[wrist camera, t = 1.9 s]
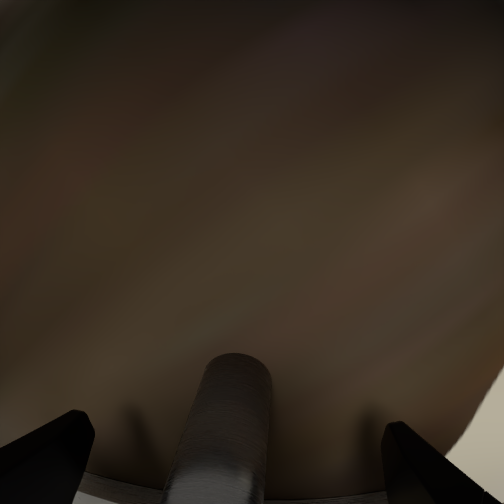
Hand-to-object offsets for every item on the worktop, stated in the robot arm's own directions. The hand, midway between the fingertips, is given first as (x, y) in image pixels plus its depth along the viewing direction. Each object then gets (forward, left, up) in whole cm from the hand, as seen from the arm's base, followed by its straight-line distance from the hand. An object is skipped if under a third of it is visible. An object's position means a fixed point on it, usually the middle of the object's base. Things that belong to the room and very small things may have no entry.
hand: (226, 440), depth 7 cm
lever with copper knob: (0, 0, -3) cm, 3 cm away
